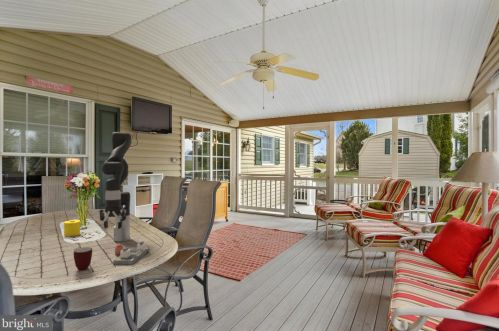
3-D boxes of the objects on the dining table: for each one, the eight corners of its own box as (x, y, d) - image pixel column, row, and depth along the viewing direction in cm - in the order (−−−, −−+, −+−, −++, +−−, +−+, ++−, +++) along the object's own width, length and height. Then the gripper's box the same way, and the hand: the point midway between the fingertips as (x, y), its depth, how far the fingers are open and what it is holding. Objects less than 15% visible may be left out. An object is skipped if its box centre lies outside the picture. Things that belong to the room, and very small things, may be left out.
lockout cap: (113, 255, 160) (113, 245, 159) (117, 253, 164) (117, 243, 164) (121, 255, 159) (121, 246, 159) (124, 253, 164) (124, 243, 164)
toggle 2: (137, 250, 162) (137, 242, 162) (139, 248, 165) (139, 241, 165) (143, 250, 162) (143, 243, 162) (146, 248, 165) (146, 241, 165)
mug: (68, 268, 140) (68, 249, 140) (85, 264, 146) (85, 245, 146) (77, 274, 134) (77, 253, 133) (95, 268, 140) (95, 249, 140)
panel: (113, 264, 146) (113, 258, 146) (132, 250, 169) (132, 245, 168) (131, 264, 146) (131, 259, 146) (148, 250, 168) (148, 246, 168)
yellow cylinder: (83, 232, 207) (83, 220, 207) (73, 236, 197) (73, 223, 197) (70, 232, 208) (70, 219, 208) (60, 236, 198) (60, 222, 198)
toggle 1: (120, 257, 150) (120, 249, 150) (123, 255, 153) (123, 247, 153) (127, 257, 150) (127, 249, 150) (130, 255, 153) (130, 247, 153)
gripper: (96, 199, 147) (96, 229, 148) (122, 199, 147) (122, 230, 147) (104, 197, 155) (103, 226, 155) (129, 197, 155) (129, 227, 155)
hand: (113, 228), depth 151 cm, fingers open, 7 cm apart
